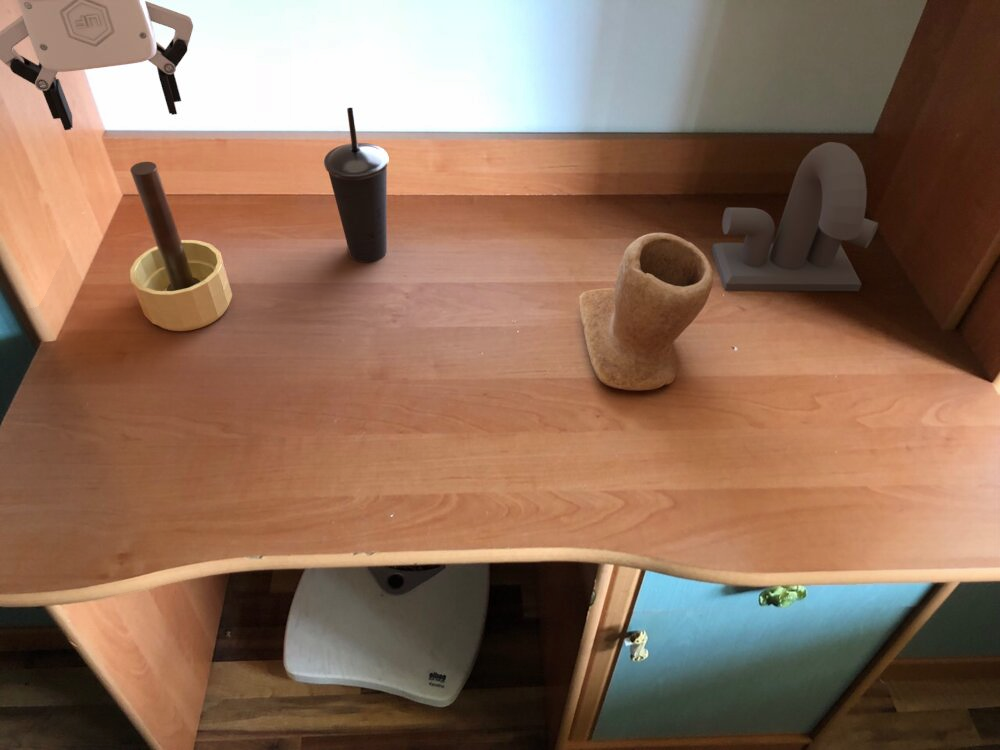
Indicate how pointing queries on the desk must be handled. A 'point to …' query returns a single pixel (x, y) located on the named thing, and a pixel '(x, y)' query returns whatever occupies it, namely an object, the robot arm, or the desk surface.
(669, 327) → the stone cup
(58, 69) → the robot arm
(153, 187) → the stirrer
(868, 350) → the desk surface
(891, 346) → the desk surface
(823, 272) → the faucet
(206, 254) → the bowl
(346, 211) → the drinking cup
